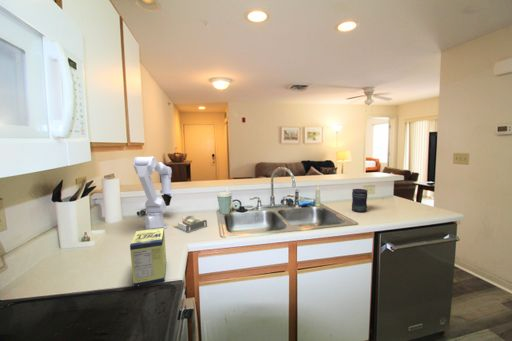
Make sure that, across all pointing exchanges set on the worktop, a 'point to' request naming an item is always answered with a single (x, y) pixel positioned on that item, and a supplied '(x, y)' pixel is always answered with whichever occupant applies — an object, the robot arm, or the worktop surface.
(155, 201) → the robot arm
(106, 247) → the worktop surface
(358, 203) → the storage jar
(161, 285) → the worktop surface
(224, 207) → the disposable coffee cup
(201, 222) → the loading dock
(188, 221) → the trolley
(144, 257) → the protein box
